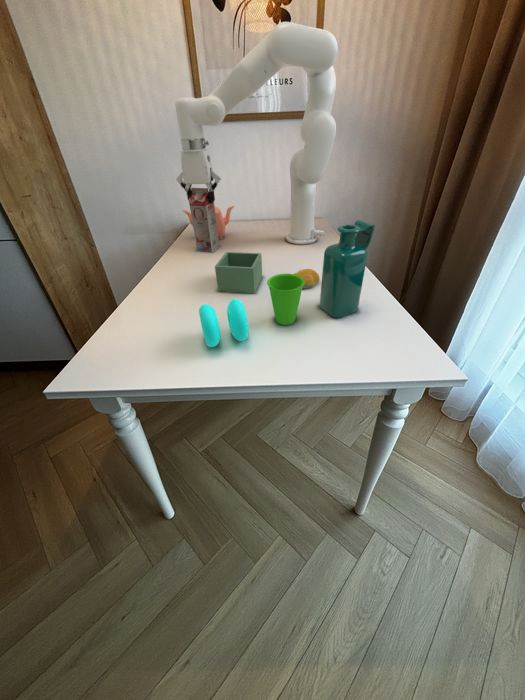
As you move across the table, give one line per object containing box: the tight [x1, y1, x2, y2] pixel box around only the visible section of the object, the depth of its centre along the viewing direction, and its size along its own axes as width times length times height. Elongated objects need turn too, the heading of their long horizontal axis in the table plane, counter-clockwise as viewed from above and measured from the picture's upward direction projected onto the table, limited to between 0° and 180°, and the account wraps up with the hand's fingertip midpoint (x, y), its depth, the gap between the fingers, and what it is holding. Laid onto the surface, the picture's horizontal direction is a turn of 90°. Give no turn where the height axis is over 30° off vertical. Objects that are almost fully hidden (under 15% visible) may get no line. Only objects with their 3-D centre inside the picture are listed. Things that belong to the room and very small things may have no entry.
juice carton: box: [188, 187, 220, 253], centre depth 118 cm, size 7×7×22 cm
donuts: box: [198, 298, 250, 348], centre depth 72 cm, size 10×10×10 cm
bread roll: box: [293, 268, 321, 289], centre depth 97 cm, size 8×9×4 cm
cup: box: [266, 273, 305, 326], centre depth 78 cm, size 9×9×11 cm
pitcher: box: [319, 219, 376, 319], centre depth 78 cm, size 10×8×22 cm
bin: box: [214, 251, 263, 294], centre depth 96 cm, size 12×12×8 cm
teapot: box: [181, 205, 236, 240], centre depth 132 cm, size 15×17×13 cm
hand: (201, 202), depth 114 cm, fingers closed on juice carton, 7 cm apart
